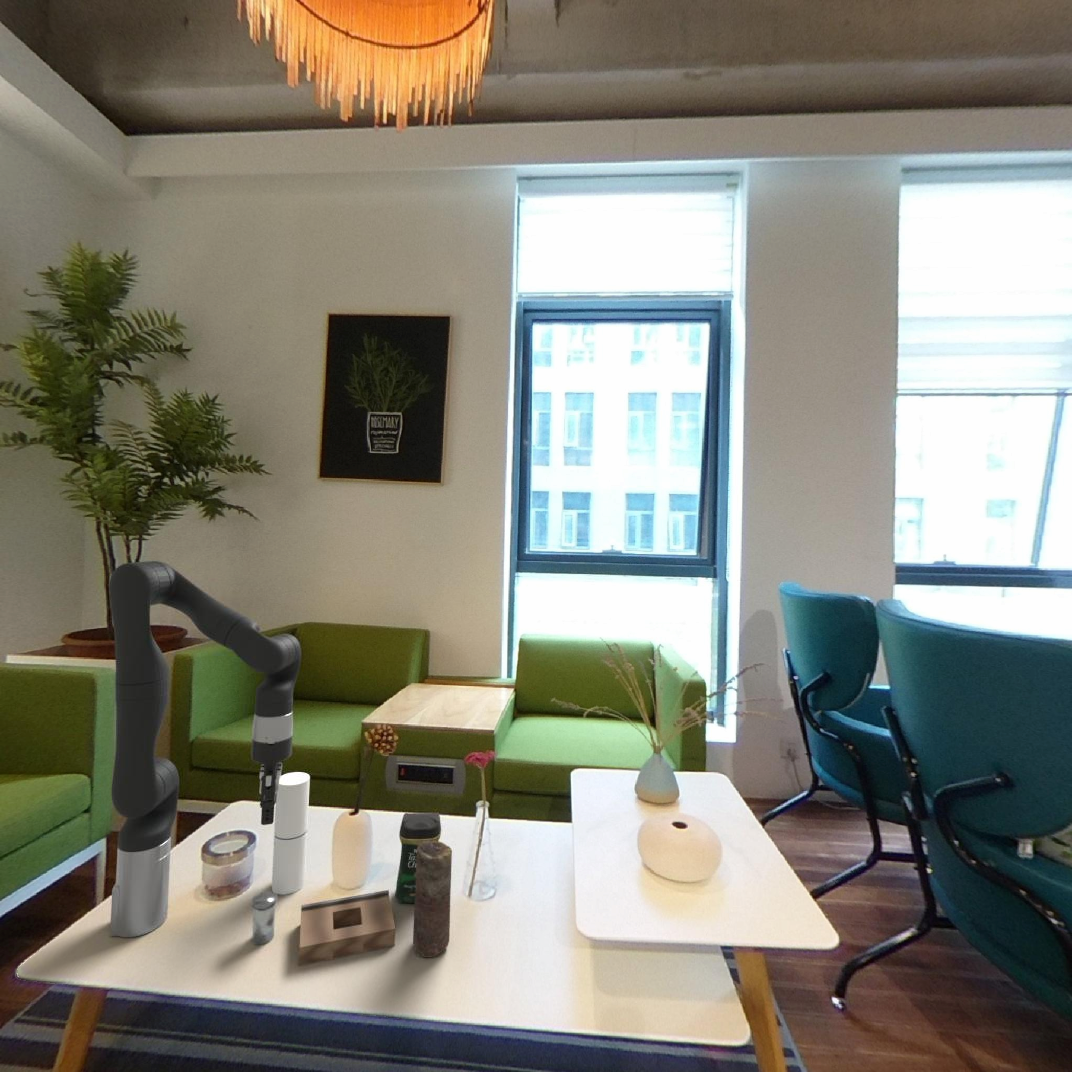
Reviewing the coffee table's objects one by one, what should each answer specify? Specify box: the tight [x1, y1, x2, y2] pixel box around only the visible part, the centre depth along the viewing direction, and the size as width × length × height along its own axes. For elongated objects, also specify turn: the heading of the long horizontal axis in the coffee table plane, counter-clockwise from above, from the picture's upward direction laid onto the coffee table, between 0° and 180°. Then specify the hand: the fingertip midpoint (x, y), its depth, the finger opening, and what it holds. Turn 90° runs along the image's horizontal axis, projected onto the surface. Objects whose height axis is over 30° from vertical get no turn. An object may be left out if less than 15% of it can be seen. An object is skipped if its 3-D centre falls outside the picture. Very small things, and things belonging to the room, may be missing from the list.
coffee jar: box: [395, 812, 442, 904], centre depth 132 cm, size 10×8×19 cm
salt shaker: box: [251, 891, 278, 946], centre depth 116 cm, size 5×5×8 cm
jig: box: [298, 889, 396, 967], centre depth 118 cm, size 18×12×4 cm, turn 111°
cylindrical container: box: [271, 771, 311, 896], centre depth 133 cm, size 7×7×25 cm
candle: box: [412, 841, 453, 958], centre depth 116 cm, size 8×7×20 cm
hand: (268, 813), depth 116 cm, fingers open, 8 cm apart
